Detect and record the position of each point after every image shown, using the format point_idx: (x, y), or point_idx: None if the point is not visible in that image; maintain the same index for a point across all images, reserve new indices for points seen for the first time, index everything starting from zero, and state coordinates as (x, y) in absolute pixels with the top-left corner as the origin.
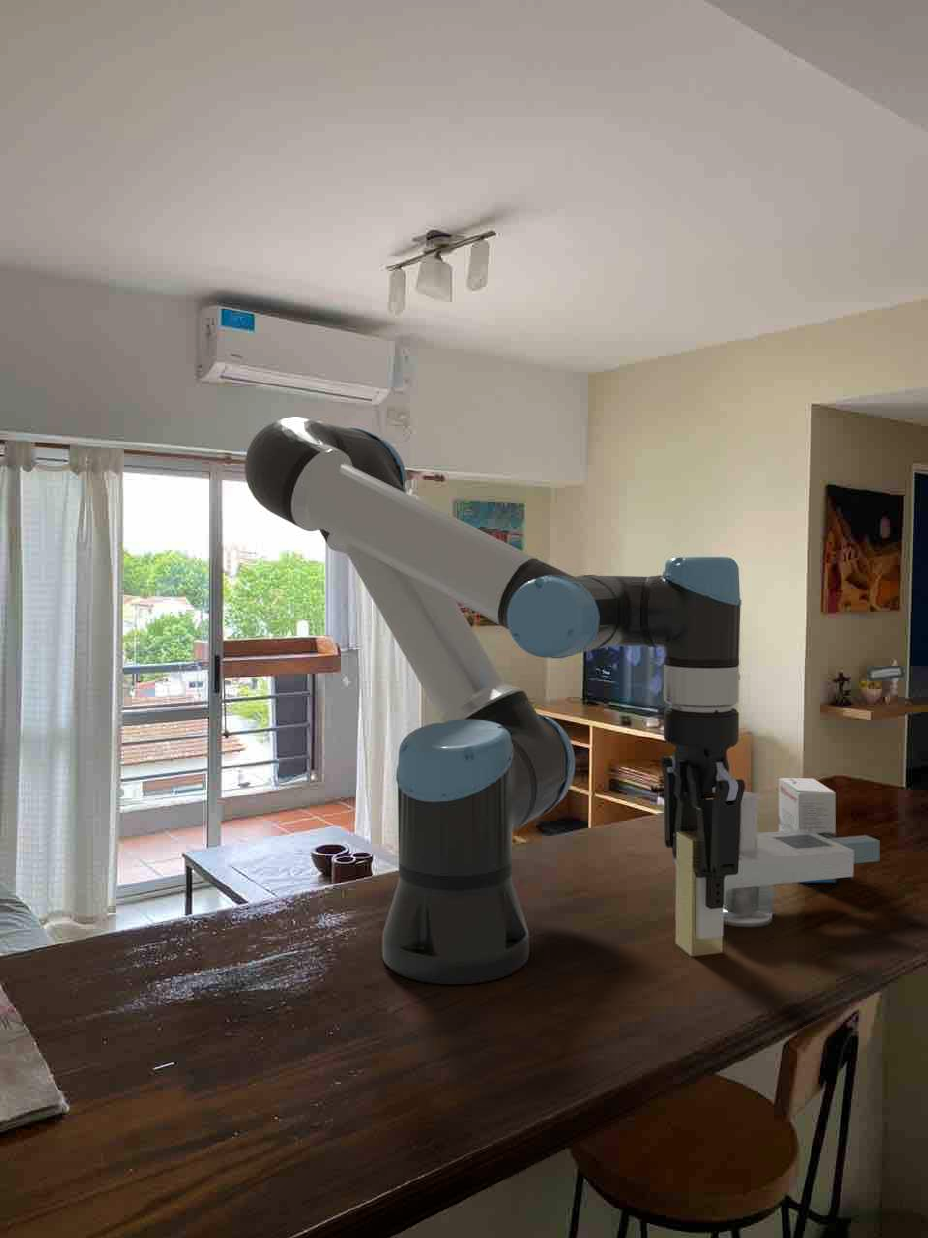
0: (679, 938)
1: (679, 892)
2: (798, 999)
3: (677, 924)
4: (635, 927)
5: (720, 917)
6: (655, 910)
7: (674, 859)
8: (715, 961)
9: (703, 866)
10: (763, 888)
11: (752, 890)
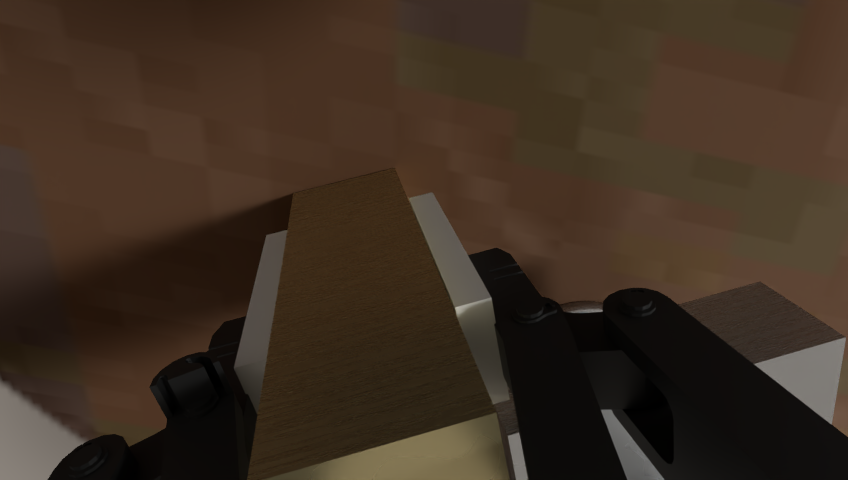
0: (373, 181)
1: (392, 242)
2: (31, 395)
3: (392, 191)
4: (533, 65)
5: None
6: (655, 161)
7: (775, 293)
8: None
9: (206, 420)
10: None
11: None
